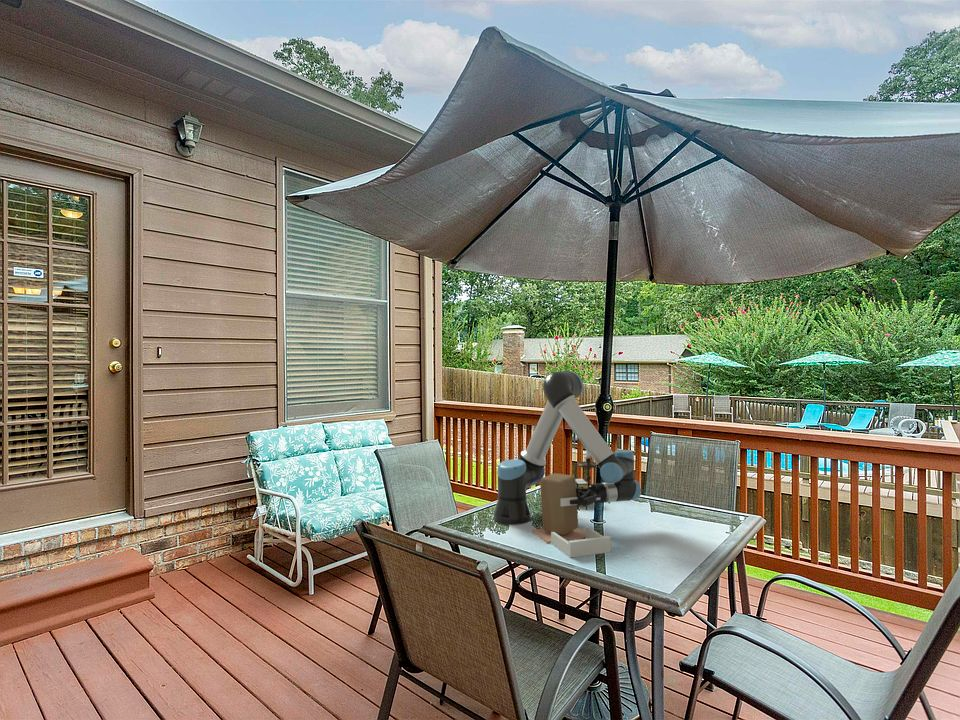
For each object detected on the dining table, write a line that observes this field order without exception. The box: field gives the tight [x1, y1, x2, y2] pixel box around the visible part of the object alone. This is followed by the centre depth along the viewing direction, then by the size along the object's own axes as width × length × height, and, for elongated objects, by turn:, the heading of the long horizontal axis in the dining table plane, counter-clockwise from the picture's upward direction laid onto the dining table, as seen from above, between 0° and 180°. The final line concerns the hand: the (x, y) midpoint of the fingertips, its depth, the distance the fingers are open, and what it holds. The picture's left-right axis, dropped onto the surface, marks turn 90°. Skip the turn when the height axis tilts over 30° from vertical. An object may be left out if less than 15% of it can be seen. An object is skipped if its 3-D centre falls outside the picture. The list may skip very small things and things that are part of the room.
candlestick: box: [576, 449, 597, 489], centre depth 260 cm, size 11×11×35 cm
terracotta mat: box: [530, 527, 586, 544], centre depth 198 cm, size 18×14×1 cm
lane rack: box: [550, 527, 612, 558], centre depth 184 cm, size 14×15×5 cm
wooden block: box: [539, 472, 579, 535], centre depth 198 cm, size 10×10×20 cm
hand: (552, 497), depth 197 cm, fingers closed on wooden block, 13 cm apart
